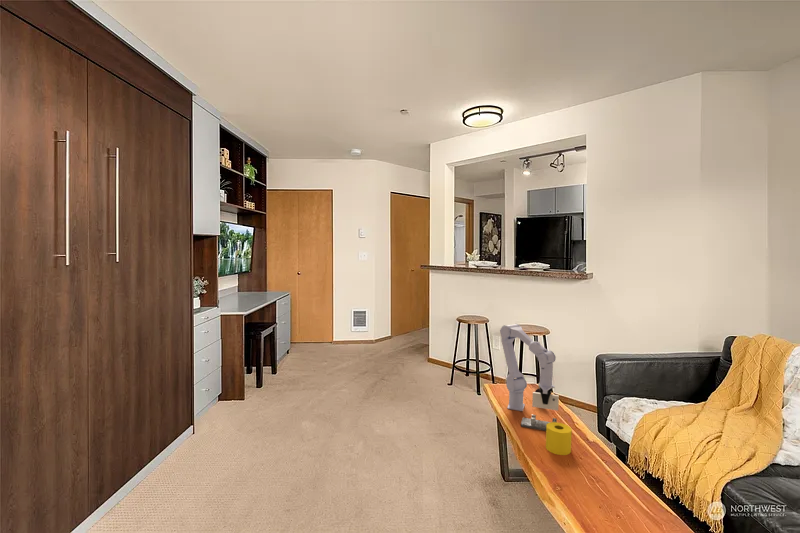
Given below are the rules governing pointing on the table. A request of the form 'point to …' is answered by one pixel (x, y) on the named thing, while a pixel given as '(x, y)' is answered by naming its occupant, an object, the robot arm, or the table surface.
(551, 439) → the tape roll
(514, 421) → the table surface
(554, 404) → the cabinet door
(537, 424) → the rail
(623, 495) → the table surface
